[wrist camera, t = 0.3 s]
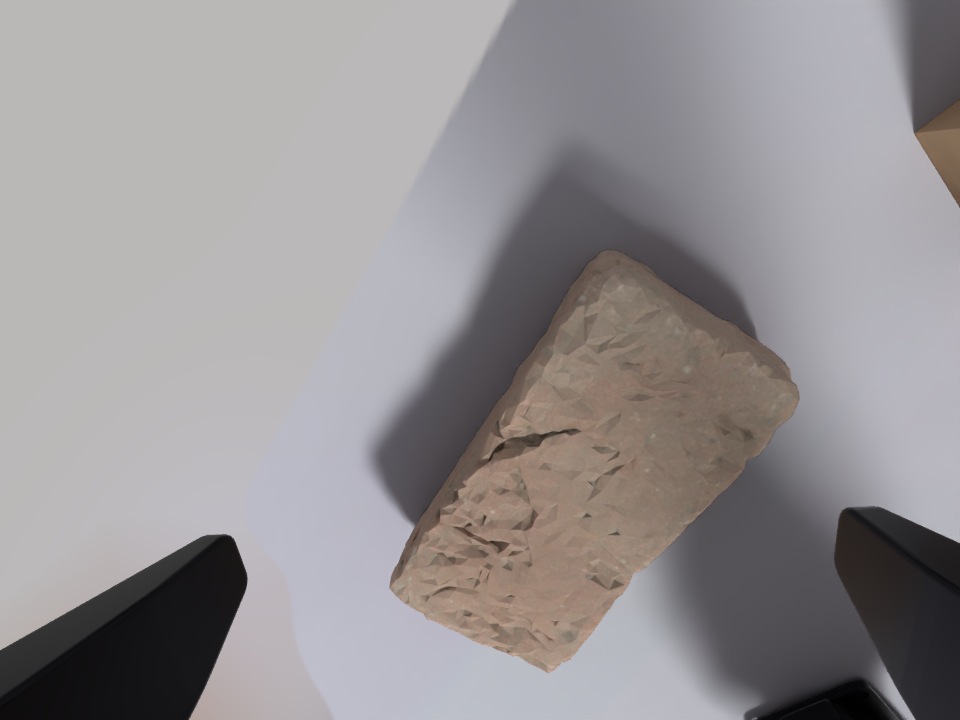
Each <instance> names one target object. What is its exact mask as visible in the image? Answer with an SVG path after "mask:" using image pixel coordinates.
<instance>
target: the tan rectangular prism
mask: <svg viewBox="0 0 960 720" xmlns="http://www.w3.org/2000/svg"><path fill="white" fill-rule="evenodd" d="M914 134H915V136H916V138H917V139H918V141H919V143H920V144H921V146H922V147H923V149H924V151H925V152H926V154H927V155H928V157H929V159H930V160H931V162H932V163H933V165H934V167H935V168H936V170H937V172H938V173H939V175H940V176H941V178H942V180H943V181H944V183H945V184H946V186H947V188H948V189H949V191H950V192H951V194H952V196H953V197H954V199H955V200H956V202H957V204H958V205H959V207H960V100H958V101H957V102H956V103H954V104H953V105H951V106H950V107H949V108H947V109H946V110H945V111H943V112H942V113H941V114H939V115H938V116H937V117H935V118H934V119H933V120H931V121H930V122H928V123H927V124H926V125H924V126H923V127H922V128H920V129H919V130H918V131H916V132H915V133H914Z"/></svg>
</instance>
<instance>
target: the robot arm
mask: <svg viewBox="0 0 960 720" xmlns="http://www.w3.org/2000/svg"><path fill="white" fill-rule="evenodd" d="M834 561H835V567H836V570H837V573H838V575H839V578H840V580H841V581H842V583H843V585H844V587H845V589H846V591H847V593H848V595H849V597H850V599H851V601H852V603H853V605H854V607H855V609H856V611H857V613H858V615H859V617H860V619H861V620H862V622H863V624H864V626H865V628H866V630H867V632H868V634H869V636H870V638H871V640H872V642H873V644H874V646H875V648H876V650H877V652H878V654H879V656H880V658H881V660H882V661H883V663H884V665H885V667H886V669H887V671H888V673H889V675H890V677H891V679H892V680H893V682H894V684H895V686H896V688H897V690H898V691H899V693H900V695H901V697H902V698H903V700H904V701H905V703H906V705H907V706H908V708H909V710H910V711H911V713H912V715H913V716H914V718H915V719H916V720H960V543H958V542H956V541H954V540H951V539H949V538H947V537H945V536H943V535H940V534H938V533H936V532H934V531H932V530H929V529H927V528H925V527H923V526H921V525H918V524H916V523H914V522H912V521H910V520H907V519H905V518H903V517H901V516H899V515H896V514H894V513H892V512H890V511H888V510H885V509H883V508H881V507H875V506H869V507H848V508H846V509H844V510H842V512H841V513H840V516H839V522H838V529H837V537H836V545H835V553H834ZM246 587H247V573H246V570H245V567H244V564H243V562H242V559H241V556H240V553H239V551H238V548H237V545H236V542H235V540H234V539H233V538H232V537H231V536H230V535H226V534H222V535H206V536H203V537H200V538H199V539H197V540H195V541H193V542H191V543H190V544H188V545H186V546H184V547H183V548H181V549H179V550H177V551H176V552H174V553H172V554H170V555H168V556H167V557H165V558H163V559H161V560H159V561H158V562H156V563H154V564H153V565H151V566H149V567H147V568H145V569H144V570H142V571H140V572H138V573H136V574H135V575H133V576H131V577H129V578H128V579H126V580H124V581H122V582H120V583H119V584H117V585H115V586H113V587H112V588H110V589H108V590H106V591H105V592H103V593H101V594H99V595H98V596H96V597H94V598H92V599H90V600H89V601H87V602H85V603H83V604H81V605H80V606H78V607H76V608H74V609H73V610H71V611H69V612H67V613H66V614H64V615H62V616H60V617H58V618H57V619H55V620H53V621H51V622H50V623H48V624H46V625H45V626H42V627H41V628H39V629H37V630H35V631H34V632H32V633H30V634H28V635H26V636H25V637H23V638H21V639H19V640H18V641H16V642H14V643H12V644H11V645H9V646H7V647H5V648H3V649H2V650H0V720H189V719H190V717H191V715H192V713H193V711H194V709H195V707H196V705H197V703H198V701H199V699H200V697H201V695H202V693H203V691H204V689H205V686H206V684H207V682H208V680H209V677H210V675H211V673H212V671H213V668H214V666H215V663H216V661H217V658H218V656H219V654H220V651H221V649H222V647H223V644H224V642H225V639H226V637H227V634H228V632H229V629H230V627H231V625H232V622H233V620H234V617H235V615H236V613H237V610H238V608H239V606H240V603H241V601H242V598H243V596H244V593H245V590H246ZM762 720H900V719H899V718H898V717H897V716H896V715H895V713H894V712H893V711H892V710H891V709H890V708H889V707H888V705H887V704H886V703H885V702H884V701H883V700H882V699H881V697H880V696H879V695H878V694H877V693H876V692H875V691H874V689H873V688H872V687H871V686H870V685H869V684H868V683H867V682H865V681H862V680H861V681H854V682H851V683H849V684H846V685H844V686H842V687H839V688H837V689H834V690H832V691H830V692H827V693H825V694H822V695H820V696H818V697H815V698H813V699H810V700H808V701H806V702H803V703H801V704H798V705H796V706H794V707H791V708H789V709H786V710H784V711H782V712H779V713H777V714H774V715H772V716H770V717H767V718H765V719H762Z"/></svg>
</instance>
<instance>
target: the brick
mask: <svg viewBox="0 0 960 720" xmlns="http://www.w3.org/2000/svg"><path fill="white" fill-rule="evenodd" d="M798 402H799V392H798V388H797V385H795V384H794V383H793V382H792V381H791V374H790V369H789V368H788V366H787V365H786V364H785V362H784V361H783V360H782V359H781V358H780V357H778V356H777V355H776V354H775V353H774V352H773V351H772V350H770V349H769V348H767V347H766V346H764V345H763V344H761V343H760V342H758V341H756V340H755V339H753V338H752V337H750V336H748V335H747V334H745V333H743V332H742V331H741V329H740V328H738V327H737V326H736V325H734V324H733V323H731V322H730V321H726V320H722V319H720V318H719V317H716V316H714V315H713V314H712V313H710V312H709V311H708V310H706V309H705V308H703V307H701V306H700V305H699V304H697V303H695V302H694V301H692V300H690V299H689V298H687V297H686V296H684V295H683V294H681V293H679V292H678V291H676V289H675V288H672V287H671V286H670V285H668V284H667V283H665V282H664V281H662V280H660V278H659V277H658V276H657V275H656V274H655V273H654V272H653V271H652V270H651V269H650V268H648V267H647V266H646V265H644V264H642V263H640V262H637V261H635V260H633V259H632V258H630V257H628V256H627V255H625V254H624V253H622V252H618V251H614V250H609V249H607V250H605V251H602V252H600V253H599V254H598V255H597V257H596V258H595V259H593V260H591V261H590V262H588V263H587V265H586V267H585V268H584V270H583V272H582V273H581V275H580V276H579V278H578V279H577V280H576V281H575V282H574V283H573V284H572V286H571V287H570V289H569V291H568V293H567V294H566V296H565V298H564V299H563V301H562V303H561V304H560V306H559V308H558V309H557V311H556V313H555V315H554V317H553V319H552V321H551V323H550V325H549V327H548V330H547V332H546V333H545V335H544V336H543V337H542V338H541V339H540V340H539V341H538V343H537V344H536V346H535V348H534V349H533V351H532V352H531V353H530V355H529V356H528V357H527V358H526V359H525V360H524V361H523V363H522V364H521V365H520V366H519V367H518V368H517V371H516V373H515V376H514V378H513V381H512V383H511V385H510V387H509V388H508V390H507V391H506V392H505V394H504V395H503V396H502V397H501V398H500V399H499V400H498V401H497V402H496V404H495V405H494V407H493V409H492V411H491V412H490V414H489V416H488V417H487V418H486V420H485V421H484V423H483V424H482V425H481V427H480V428H479V430H478V431H477V433H476V435H475V436H474V438H473V439H472V440H471V442H470V444H469V445H468V447H467V448H466V450H465V451H464V453H463V454H462V455H461V457H460V458H459V459H458V462H457V464H456V466H455V467H454V468H453V470H452V472H451V473H450V475H449V477H448V478H447V480H446V481H445V483H444V484H443V485H442V487H441V488H440V490H439V491H438V493H437V494H436V496H435V497H434V499H433V500H432V502H431V503H430V505H429V507H428V509H427V510H426V511H425V512H424V514H423V515H422V516H421V518H420V520H419V522H418V523H417V524H416V526H415V527H414V529H413V531H412V533H411V535H410V537H409V539H408V541H407V542H406V546H405V548H404V550H403V553H402V555H401V557H400V560H399V562H398V564H397V566H396V567H395V569H394V571H393V573H392V576H391V581H390V586H389V588H390V589H391V590H392V592H393V593H394V594H395V595H396V596H397V597H398V598H399V599H400V600H401V601H403V602H404V603H405V604H407V605H408V606H410V607H412V608H413V609H415V610H417V611H419V612H421V613H424V615H425V617H426V618H427V619H429V620H432V621H435V622H437V623H439V624H441V625H443V626H445V627H447V628H449V629H452V630H454V631H456V632H459V633H460V634H462V635H464V636H466V637H467V638H469V639H471V640H473V641H475V642H477V643H480V644H482V645H486V646H490V647H493V648H495V649H497V650H500V651H502V652H505V653H508V654H510V655H512V656H519V657H520V658H522V659H523V660H525V661H527V662H528V663H530V664H532V665H534V666H536V667H538V668H540V669H542V670H544V671H545V672H547V673H550V672H551V671H553V670H555V669H556V668H557V667H558V666H559V665H560V664H561V663H562V662H565V661H567V660H570V659H571V658H572V657H573V655H574V654H575V653H576V652H577V651H578V649H579V648H580V647H581V645H582V644H583V643H584V642H585V641H586V639H587V638H588V637H589V636H590V635H591V634H592V632H593V631H594V630H595V628H596V627H597V625H598V624H599V623H600V621H601V620H602V618H603V617H604V616H605V614H606V613H607V612H608V610H609V609H610V608H611V606H612V604H613V602H614V600H615V599H617V598H618V597H619V596H621V595H622V594H623V592H624V591H625V589H626V588H627V587H628V585H629V582H630V580H631V577H632V575H633V574H634V573H636V572H638V571H640V570H642V569H644V568H646V567H647V566H648V565H649V564H650V563H651V562H652V560H654V559H655V558H656V557H657V556H658V555H659V554H660V553H661V552H662V551H664V550H665V549H666V548H667V547H668V546H669V545H670V544H671V543H672V542H673V541H674V540H675V539H676V538H677V537H678V536H679V535H680V534H681V533H682V532H683V531H684V530H685V529H686V528H687V526H688V525H689V524H690V523H691V522H692V521H693V520H695V519H696V518H697V517H698V516H699V515H700V514H701V513H702V512H703V511H704V510H705V509H706V508H707V507H708V506H709V505H710V504H711V503H712V502H713V501H714V500H715V498H716V497H717V496H718V495H719V494H720V493H721V492H723V491H724V490H726V489H727V488H728V487H729V486H730V485H731V484H732V483H733V482H734V481H735V480H736V479H737V478H738V476H739V475H740V474H741V473H742V472H743V470H744V467H745V464H746V460H747V459H750V458H753V457H756V456H758V455H759V454H760V453H761V451H762V450H763V449H764V448H765V447H766V445H767V444H768V443H769V441H770V440H771V438H772V436H773V434H774V432H775V430H776V429H777V428H778V427H779V426H780V425H781V424H783V423H784V422H785V421H787V420H788V419H789V418H791V417H792V415H793V413H794V411H795V409H796V406H797V404H798Z"/></svg>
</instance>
